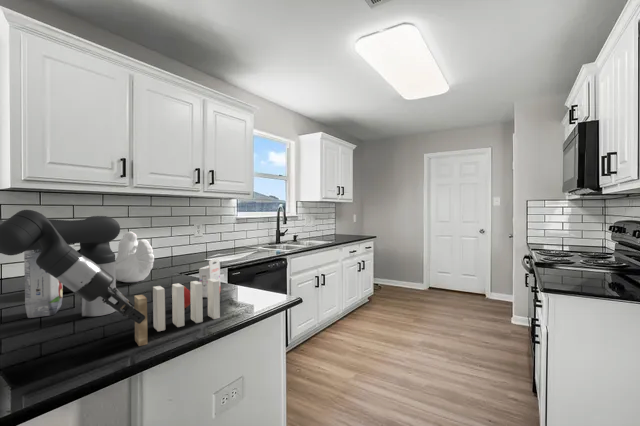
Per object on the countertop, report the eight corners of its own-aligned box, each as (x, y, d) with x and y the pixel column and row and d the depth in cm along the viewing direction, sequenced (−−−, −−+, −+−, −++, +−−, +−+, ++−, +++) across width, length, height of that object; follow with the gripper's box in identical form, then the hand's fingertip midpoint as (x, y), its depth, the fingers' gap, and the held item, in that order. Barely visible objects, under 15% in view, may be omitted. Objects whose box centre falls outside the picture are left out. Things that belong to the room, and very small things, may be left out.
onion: (178, 306, 121) (178, 284, 121) (194, 305, 122) (194, 284, 122) (173, 311, 116) (172, 288, 115) (190, 310, 116) (189, 287, 116)
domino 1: (157, 331, 96) (157, 290, 96) (153, 326, 100) (152, 286, 100) (165, 329, 97) (164, 288, 97) (160, 325, 101) (160, 285, 101)
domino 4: (213, 319, 106) (213, 281, 106) (207, 315, 110) (207, 279, 110) (219, 318, 108) (219, 280, 108) (213, 314, 112) (213, 278, 112)
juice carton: (23, 320, 108) (21, 236, 107) (32, 311, 117) (31, 234, 117) (57, 315, 112) (56, 235, 112) (64, 307, 121) (63, 233, 121)
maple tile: (138, 346, 86) (138, 299, 86) (134, 340, 90) (134, 295, 90) (147, 344, 87) (146, 298, 87) (143, 338, 91) (142, 294, 91)
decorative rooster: (107, 281, 166) (106, 231, 166) (141, 276, 178) (140, 230, 178) (126, 288, 150) (125, 233, 150) (161, 282, 162) (161, 231, 162)
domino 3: (196, 323, 103) (195, 284, 103) (190, 319, 107) (190, 281, 107) (202, 321, 104) (202, 283, 104) (197, 317, 108) (196, 280, 108)
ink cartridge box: (210, 292, 142) (209, 257, 142) (220, 292, 141) (220, 258, 141) (198, 297, 134) (198, 260, 134) (210, 297, 133) (209, 261, 133)
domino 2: (177, 327, 100) (176, 287, 99) (172, 322, 104) (172, 284, 103) (184, 325, 101) (183, 286, 101) (179, 321, 105) (178, 283, 105)
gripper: (71, 285, 84) (123, 321, 92) (73, 296, 73) (132, 336, 80) (96, 262, 88) (144, 299, 95) (102, 269, 76) (156, 310, 84)
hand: (139, 316), depth 88 cm, fingers open, 8 cm apart
